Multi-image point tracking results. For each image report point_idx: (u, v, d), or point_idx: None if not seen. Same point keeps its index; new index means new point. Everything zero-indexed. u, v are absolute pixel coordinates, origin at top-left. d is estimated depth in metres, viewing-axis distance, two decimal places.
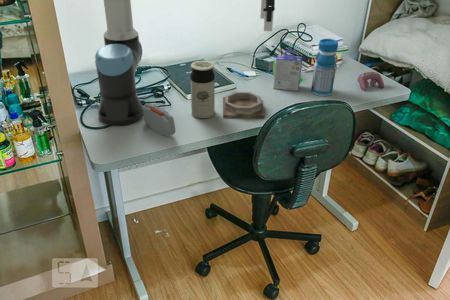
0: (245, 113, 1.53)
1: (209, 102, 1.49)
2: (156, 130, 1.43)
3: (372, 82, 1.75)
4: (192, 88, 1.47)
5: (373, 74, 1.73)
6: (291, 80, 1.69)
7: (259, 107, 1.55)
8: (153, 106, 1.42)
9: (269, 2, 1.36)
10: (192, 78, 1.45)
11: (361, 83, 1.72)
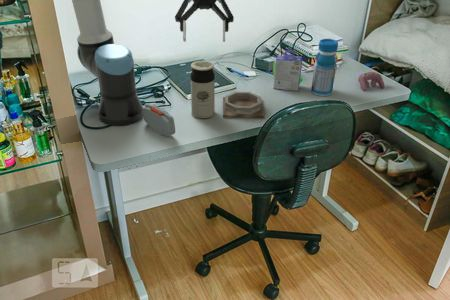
0: (245, 113, 1.53)
1: (209, 102, 1.49)
2: (156, 130, 1.43)
3: (372, 82, 1.75)
4: (192, 88, 1.47)
5: (373, 74, 1.73)
6: (291, 80, 1.69)
7: (259, 107, 1.55)
8: (153, 106, 1.42)
9: None
10: (192, 78, 1.45)
11: (361, 83, 1.72)
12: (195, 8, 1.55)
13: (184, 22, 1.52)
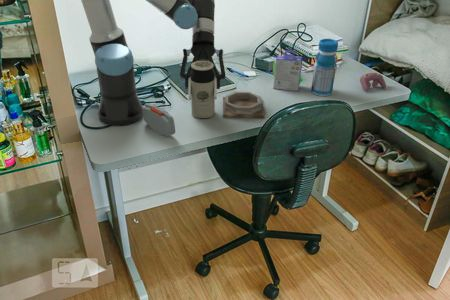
0: (245, 113, 1.53)
1: (209, 102, 1.49)
2: (156, 130, 1.43)
3: (374, 83, 1.74)
4: (192, 88, 1.47)
5: (375, 75, 1.72)
6: (291, 80, 1.69)
7: (259, 107, 1.55)
8: (153, 106, 1.42)
9: (224, 70, 1.50)
10: (192, 78, 1.45)
11: (363, 84, 1.71)
12: None
13: (189, 80, 1.48)
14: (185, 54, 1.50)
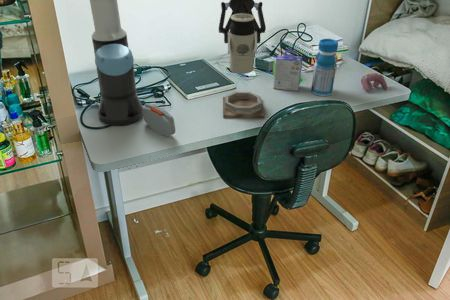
0: (245, 113, 1.53)
1: (249, 56, 1.44)
2: (156, 130, 1.43)
3: (375, 84, 1.74)
4: (232, 42, 1.43)
5: (376, 76, 1.72)
6: (291, 80, 1.69)
7: (259, 107, 1.55)
8: (153, 106, 1.42)
9: (264, 23, 1.45)
10: (232, 31, 1.41)
11: (364, 85, 1.71)
12: None
13: (229, 33, 1.43)
14: (223, 7, 1.45)
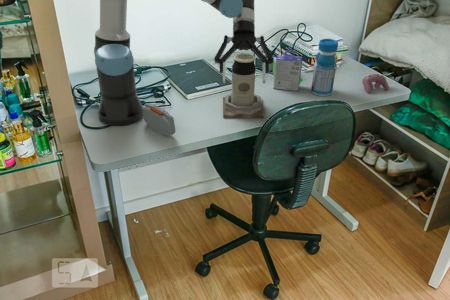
0: (245, 113, 1.53)
1: (250, 94, 1.52)
2: (156, 130, 1.43)
3: (377, 84, 1.73)
4: (233, 80, 1.51)
5: (378, 76, 1.71)
6: (291, 80, 1.69)
7: (259, 107, 1.55)
8: (153, 106, 1.42)
9: None
10: (234, 70, 1.48)
11: (366, 86, 1.70)
12: (234, 49, 1.53)
13: (224, 64, 1.50)
14: (225, 41, 1.52)
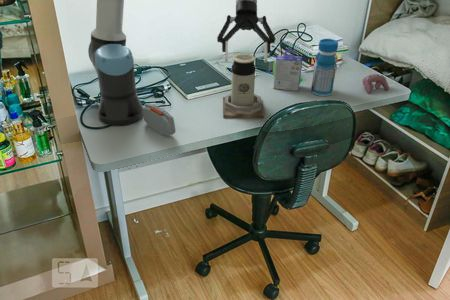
0: (245, 113, 1.53)
1: (250, 94, 1.52)
2: (156, 130, 1.43)
3: (377, 85, 1.73)
4: (233, 80, 1.50)
5: (378, 77, 1.71)
6: (291, 80, 1.69)
7: (259, 107, 1.55)
8: (153, 106, 1.42)
9: None
10: (234, 71, 1.48)
11: (366, 86, 1.70)
12: (237, 29, 1.56)
13: (226, 43, 1.53)
14: (228, 20, 1.55)
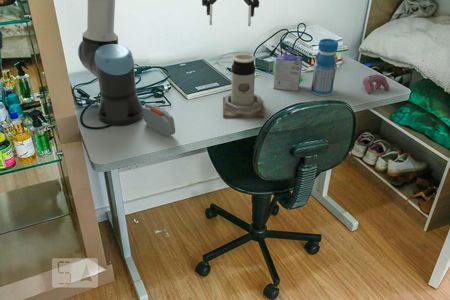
0: (245, 113, 1.53)
1: (250, 94, 1.52)
2: (156, 130, 1.43)
3: (377, 85, 1.73)
4: (233, 80, 1.51)
5: (378, 77, 1.71)
6: (291, 80, 1.69)
7: (259, 107, 1.55)
8: (153, 106, 1.42)
9: None
10: (234, 70, 1.48)
11: (367, 86, 1.70)
12: None
13: (211, 6, 1.55)
14: None
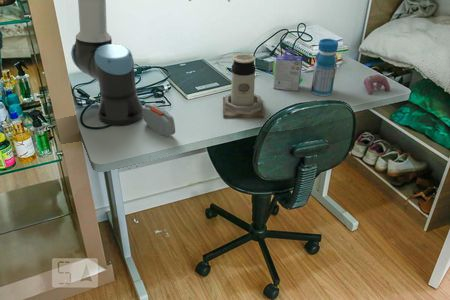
0: (245, 113, 1.53)
1: (250, 94, 1.52)
2: (156, 130, 1.43)
3: (378, 85, 1.72)
4: (233, 80, 1.50)
5: (379, 77, 1.70)
6: (291, 80, 1.69)
7: (259, 107, 1.55)
8: (153, 106, 1.42)
9: None
10: (234, 71, 1.48)
11: (367, 87, 1.69)
12: None
13: None
14: None
